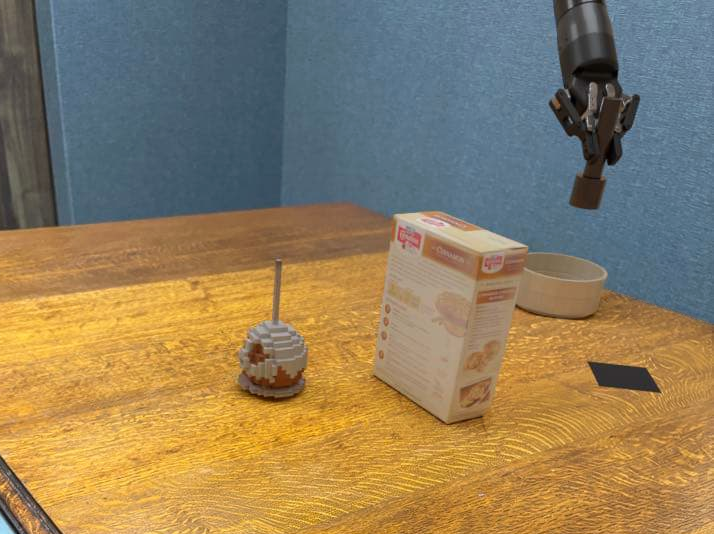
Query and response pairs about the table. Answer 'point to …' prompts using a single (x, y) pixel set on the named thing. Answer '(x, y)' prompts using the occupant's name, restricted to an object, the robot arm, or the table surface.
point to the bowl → (560, 285)
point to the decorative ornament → (273, 354)
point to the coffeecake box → (447, 312)
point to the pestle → (591, 180)
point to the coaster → (623, 377)
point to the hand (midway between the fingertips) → (604, 161)
